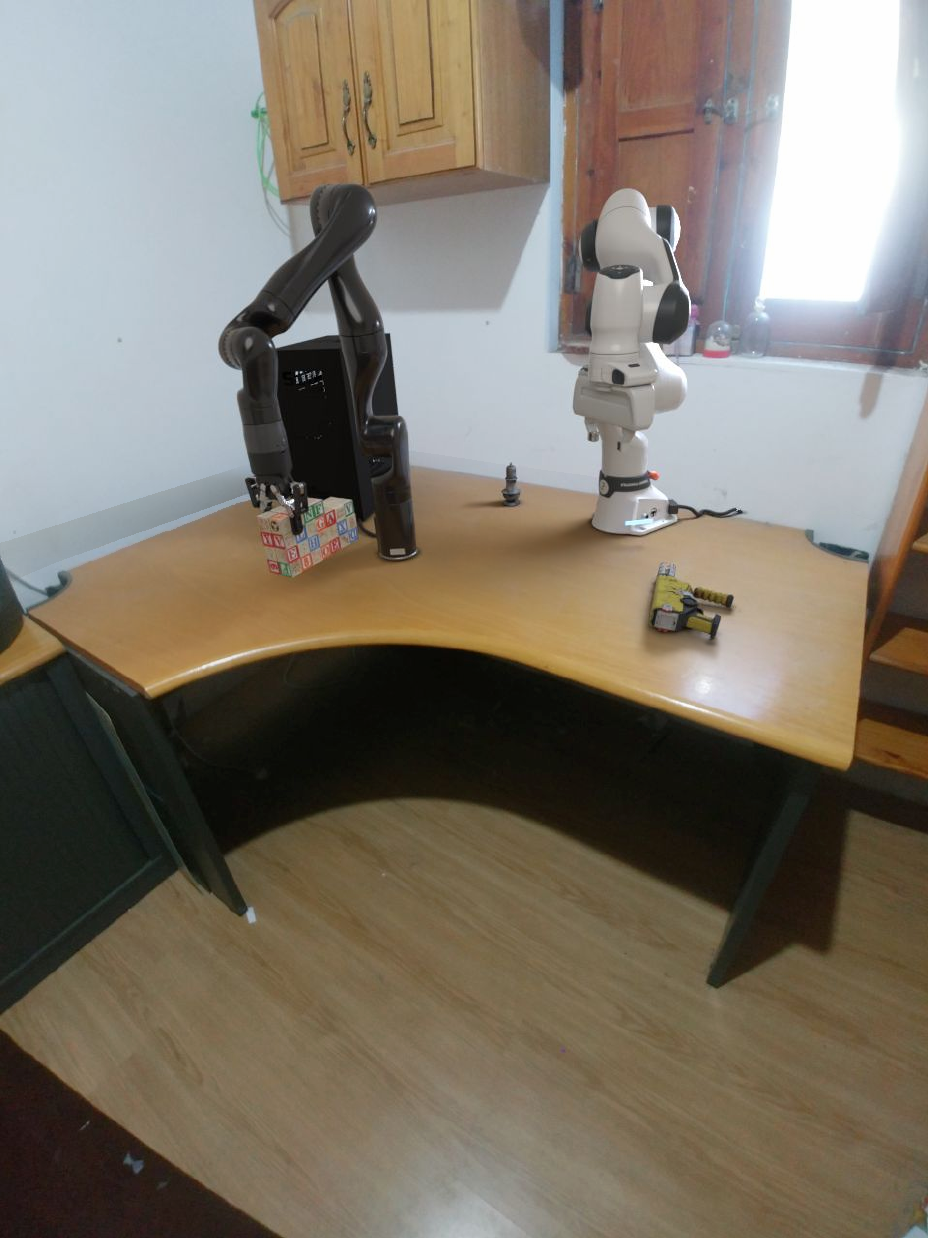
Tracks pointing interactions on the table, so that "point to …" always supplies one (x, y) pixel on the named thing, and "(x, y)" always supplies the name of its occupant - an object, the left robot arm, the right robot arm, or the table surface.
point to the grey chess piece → (511, 487)
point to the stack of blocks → (307, 534)
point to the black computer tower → (329, 421)
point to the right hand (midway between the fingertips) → (607, 445)
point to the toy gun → (683, 604)
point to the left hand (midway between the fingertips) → (285, 531)
